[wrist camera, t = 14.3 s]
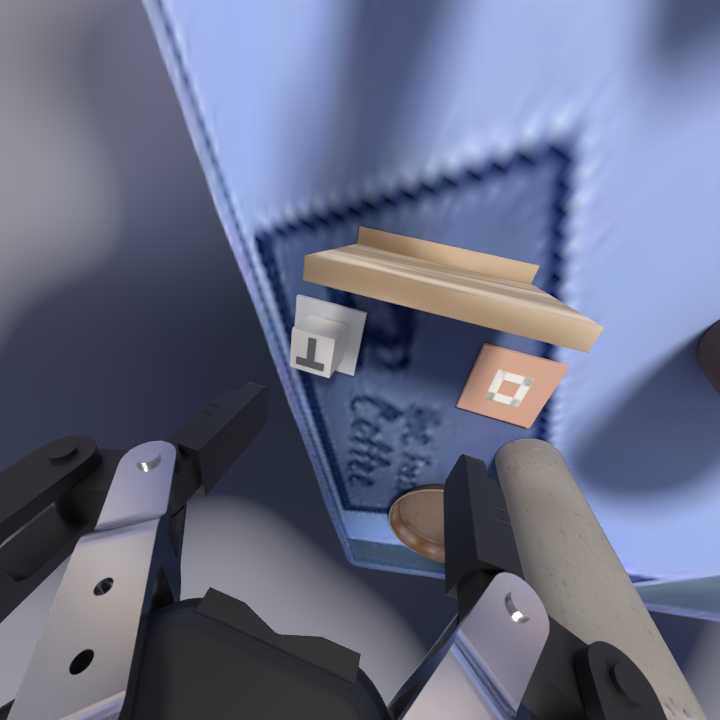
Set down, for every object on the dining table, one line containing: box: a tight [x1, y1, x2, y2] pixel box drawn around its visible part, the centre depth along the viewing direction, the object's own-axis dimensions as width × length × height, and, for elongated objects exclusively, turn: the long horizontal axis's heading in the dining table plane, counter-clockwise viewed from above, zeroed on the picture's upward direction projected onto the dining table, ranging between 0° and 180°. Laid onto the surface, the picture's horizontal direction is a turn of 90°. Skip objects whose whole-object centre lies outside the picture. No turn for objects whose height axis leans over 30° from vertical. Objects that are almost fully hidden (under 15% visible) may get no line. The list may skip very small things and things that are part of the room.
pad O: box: [456, 343, 569, 428], centre depth 32 cm, size 9×9×1 cm
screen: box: [303, 226, 604, 353], centre depth 23 cm, size 5×18×14 cm, turn 79°
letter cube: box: [290, 315, 348, 378], centre depth 33 cm, size 5×5×5 cm
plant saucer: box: [389, 484, 445, 563], centre depth 44 cm, size 18×18×3 cm
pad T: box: [295, 294, 367, 376], centre depth 35 cm, size 9×9×1 cm
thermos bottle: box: [495, 438, 708, 720], centre depth 24 cm, size 8×8×28 cm
